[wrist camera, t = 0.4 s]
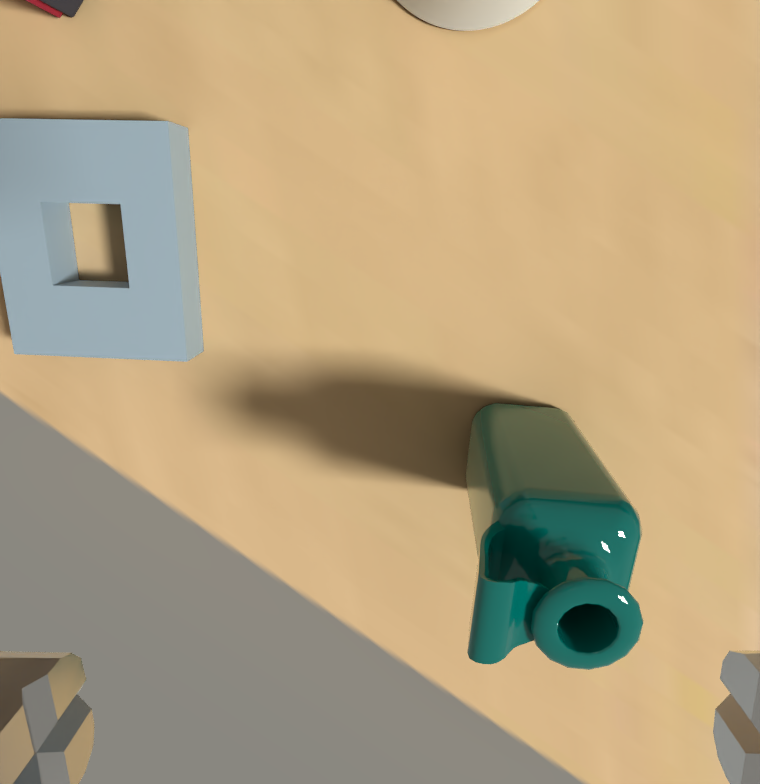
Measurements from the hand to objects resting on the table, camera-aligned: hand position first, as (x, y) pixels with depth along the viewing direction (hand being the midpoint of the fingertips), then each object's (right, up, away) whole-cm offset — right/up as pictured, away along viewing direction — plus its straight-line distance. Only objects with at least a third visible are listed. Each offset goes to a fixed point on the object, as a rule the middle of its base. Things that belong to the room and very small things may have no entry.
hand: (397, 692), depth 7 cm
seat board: (-22, +16, +38) cm, 47 cm away
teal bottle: (+11, -1, +41) cm, 43 cm away
